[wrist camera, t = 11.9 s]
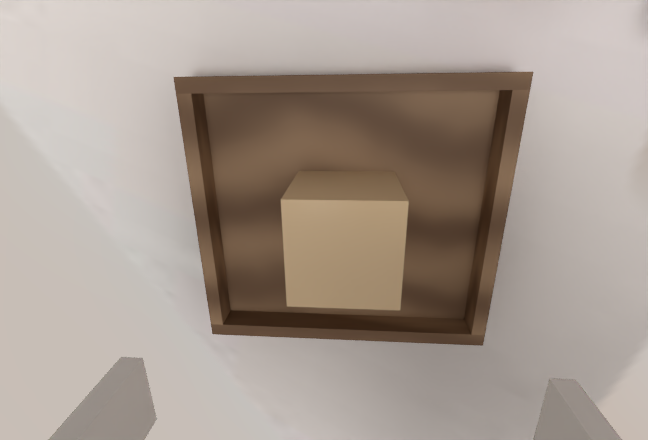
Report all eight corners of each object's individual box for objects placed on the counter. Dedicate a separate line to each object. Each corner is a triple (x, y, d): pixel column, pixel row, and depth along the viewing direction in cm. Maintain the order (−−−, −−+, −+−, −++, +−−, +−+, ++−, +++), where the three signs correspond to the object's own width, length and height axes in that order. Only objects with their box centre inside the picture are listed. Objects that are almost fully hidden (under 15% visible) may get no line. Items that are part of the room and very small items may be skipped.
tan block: (389, 258, 28) (400, 310, 22) (301, 255, 29) (286, 306, 22) (394, 171, 26) (408, 201, 19) (298, 170, 26) (280, 199, 20)
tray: (470, 321, 31) (482, 345, 28) (224, 312, 32) (212, 334, 30) (511, 73, 24) (533, 71, 21) (193, 78, 25) (173, 77, 22)
